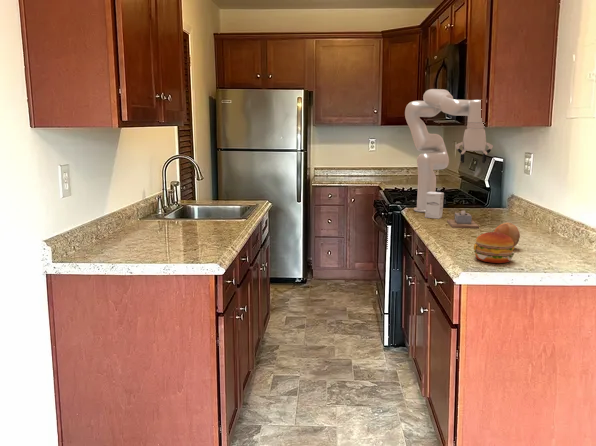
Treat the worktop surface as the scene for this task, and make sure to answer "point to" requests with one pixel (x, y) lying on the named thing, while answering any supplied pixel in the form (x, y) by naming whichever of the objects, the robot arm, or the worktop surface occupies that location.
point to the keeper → (454, 225)
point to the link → (463, 218)
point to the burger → (494, 247)
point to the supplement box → (434, 205)
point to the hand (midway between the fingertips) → (473, 162)
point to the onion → (509, 231)
